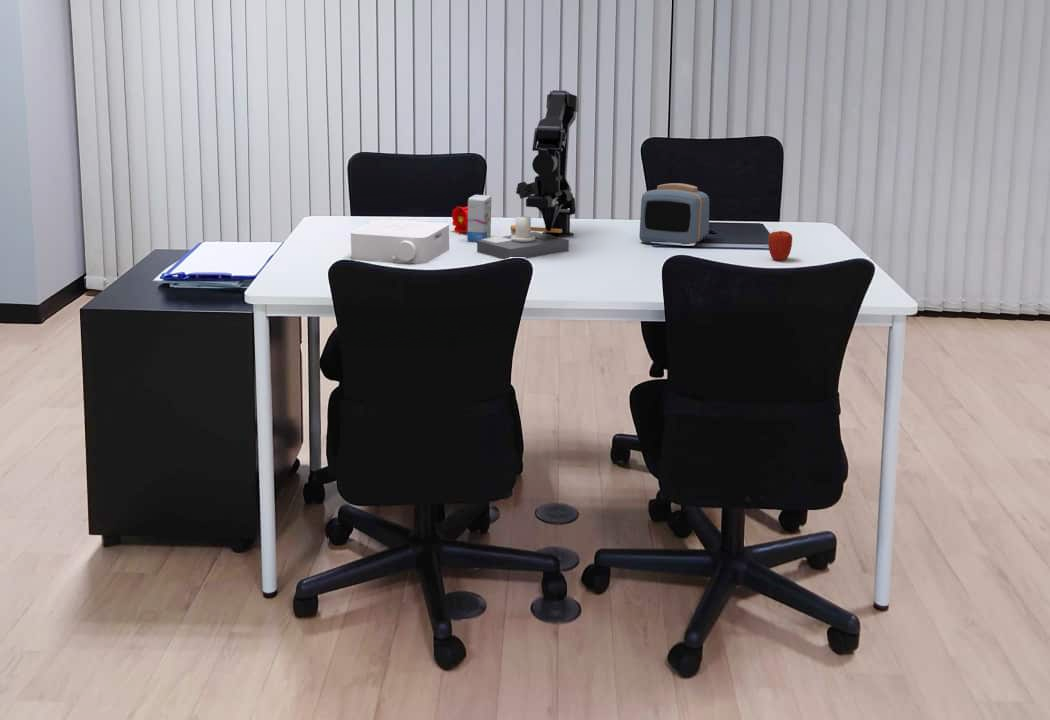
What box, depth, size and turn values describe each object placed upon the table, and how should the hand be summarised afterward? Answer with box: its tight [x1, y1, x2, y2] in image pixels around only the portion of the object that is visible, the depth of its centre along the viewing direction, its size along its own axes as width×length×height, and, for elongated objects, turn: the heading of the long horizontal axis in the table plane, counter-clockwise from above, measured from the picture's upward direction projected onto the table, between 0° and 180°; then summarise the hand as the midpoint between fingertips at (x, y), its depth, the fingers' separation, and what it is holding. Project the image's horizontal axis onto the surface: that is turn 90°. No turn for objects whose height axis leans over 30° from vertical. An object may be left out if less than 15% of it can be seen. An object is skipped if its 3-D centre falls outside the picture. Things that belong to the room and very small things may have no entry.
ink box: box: [467, 194, 492, 243], centre depth 376 cm, size 9×5×12 cm, turn 168°
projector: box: [350, 219, 450, 264], centre depth 358 cm, size 21×22×7 cm
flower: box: [451, 205, 468, 234], centre depth 387 cm, size 8×8×8 cm
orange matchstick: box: [510, 224, 562, 233], centre depth 367 cm, size 14×2×1 cm, turn 73°
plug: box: [511, 216, 535, 243], centre depth 361 cm, size 6×6×9 cm
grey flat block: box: [476, 229, 570, 260], centre depth 362 cm, size 20×15×4 cm
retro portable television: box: [639, 182, 710, 245], centre depth 375 cm, size 16×16×16 cm
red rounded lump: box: [767, 230, 793, 262], centre depth 354 cm, size 6×6×8 cm
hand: (548, 230), depth 365 cm, fingers closed
